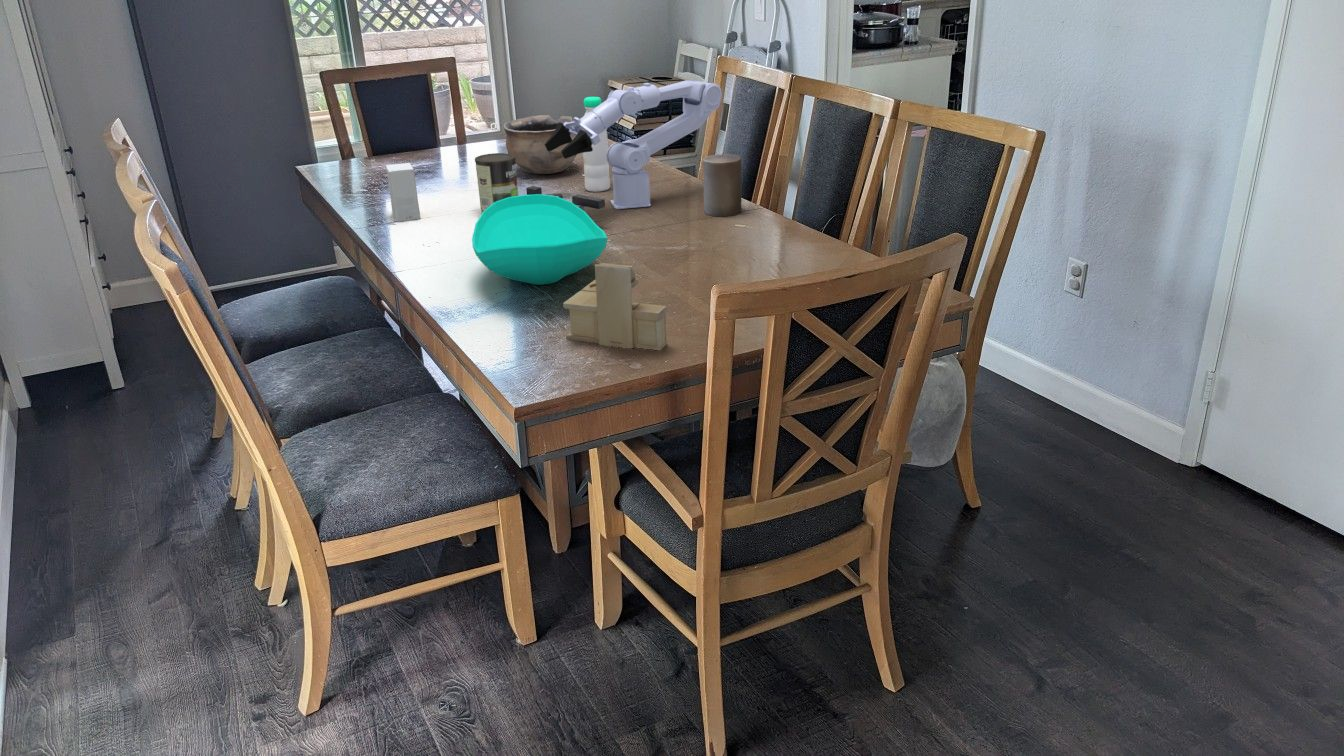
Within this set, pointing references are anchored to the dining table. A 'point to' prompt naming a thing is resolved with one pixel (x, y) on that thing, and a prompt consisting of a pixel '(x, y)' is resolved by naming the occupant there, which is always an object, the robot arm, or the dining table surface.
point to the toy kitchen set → (615, 312)
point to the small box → (403, 192)
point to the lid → (572, 198)
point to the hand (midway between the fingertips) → (554, 151)
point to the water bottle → (596, 157)
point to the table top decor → (536, 238)
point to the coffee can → (496, 178)
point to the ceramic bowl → (536, 144)
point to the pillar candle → (722, 185)
